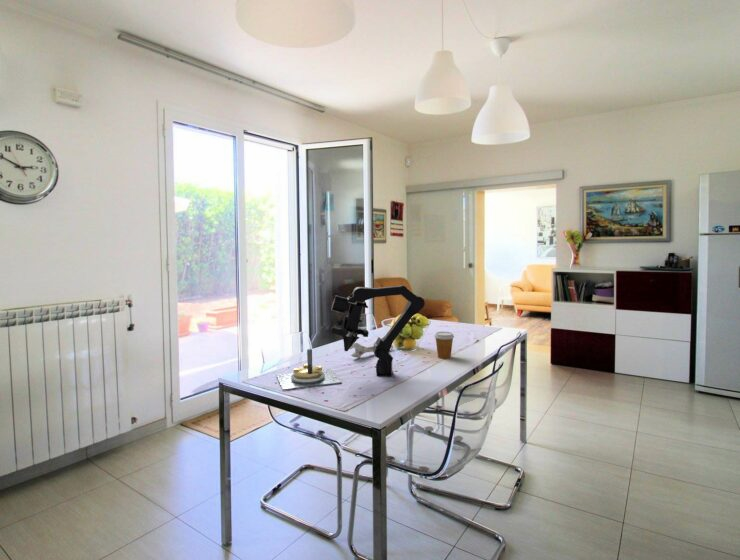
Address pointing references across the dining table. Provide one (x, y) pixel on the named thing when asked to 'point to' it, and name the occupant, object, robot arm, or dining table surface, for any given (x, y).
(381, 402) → the dining table surface
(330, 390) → the dining table surface
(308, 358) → the brass chuck with rod
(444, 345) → the disposable coffee cup
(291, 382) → the gray metal base plate
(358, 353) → the wrench
